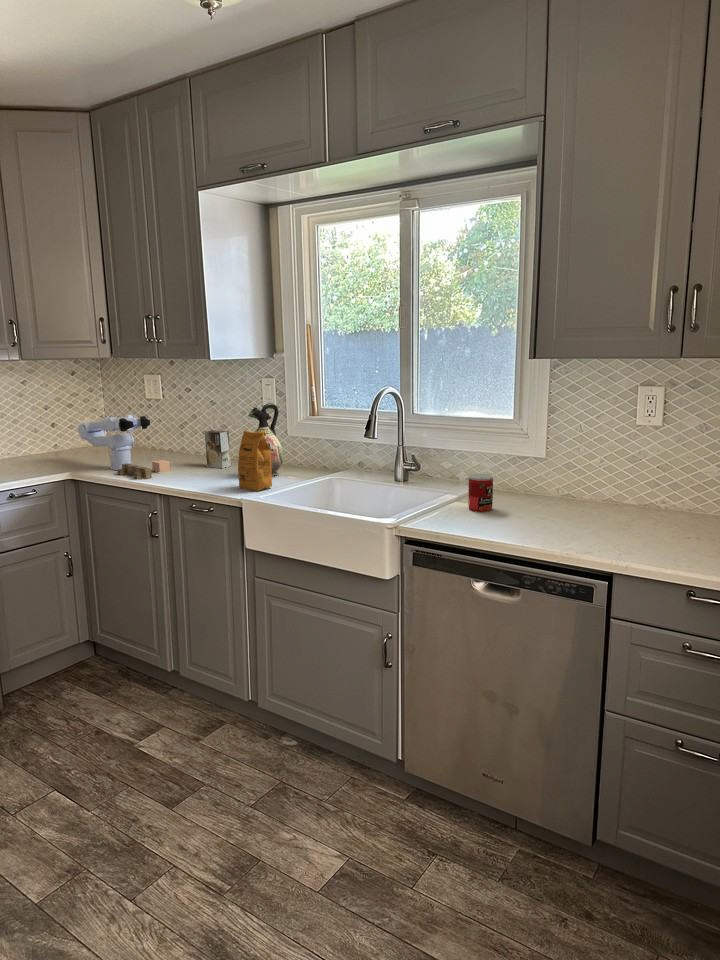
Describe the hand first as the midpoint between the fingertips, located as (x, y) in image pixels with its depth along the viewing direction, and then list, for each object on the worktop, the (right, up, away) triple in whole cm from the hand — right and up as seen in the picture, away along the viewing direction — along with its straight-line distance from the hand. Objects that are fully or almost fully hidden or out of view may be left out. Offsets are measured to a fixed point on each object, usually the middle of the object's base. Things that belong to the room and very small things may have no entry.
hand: (141, 423), depth 289 cm
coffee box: (+29, -18, +18) cm, 39 cm away
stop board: (-3, -22, +1) cm, 22 cm away
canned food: (+131, -34, -66) cm, 150 cm away
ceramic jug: (+54, -22, -3) cm, 58 cm away
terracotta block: (+6, -20, +10) cm, 23 cm away
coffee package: (+52, -27, -27) cm, 65 cm away
